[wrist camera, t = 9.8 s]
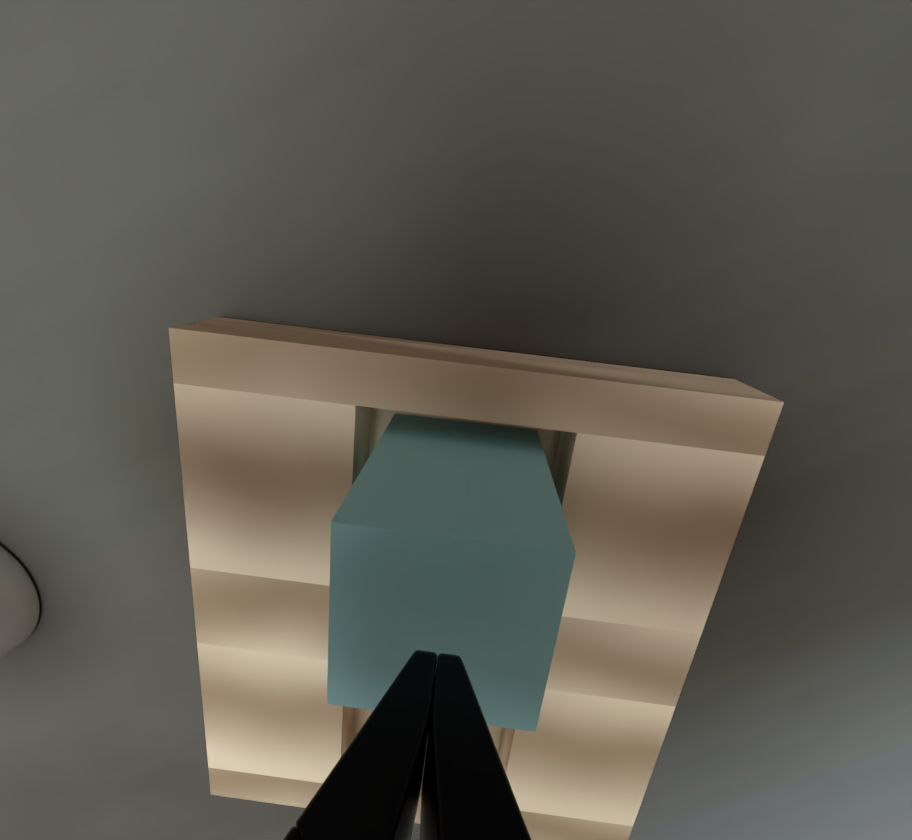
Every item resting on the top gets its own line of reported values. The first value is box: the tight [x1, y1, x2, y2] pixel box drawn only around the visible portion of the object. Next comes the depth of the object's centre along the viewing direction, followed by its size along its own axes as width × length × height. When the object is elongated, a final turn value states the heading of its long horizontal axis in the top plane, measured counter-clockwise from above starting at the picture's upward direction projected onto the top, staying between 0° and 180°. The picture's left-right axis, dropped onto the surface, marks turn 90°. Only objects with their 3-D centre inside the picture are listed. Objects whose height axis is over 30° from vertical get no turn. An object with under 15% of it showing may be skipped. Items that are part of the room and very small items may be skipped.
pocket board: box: [169, 317, 784, 840], centre depth 16 cm, size 18×16×2 cm
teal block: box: [327, 413, 576, 732], centre depth 12 cm, size 4×4×6 cm
